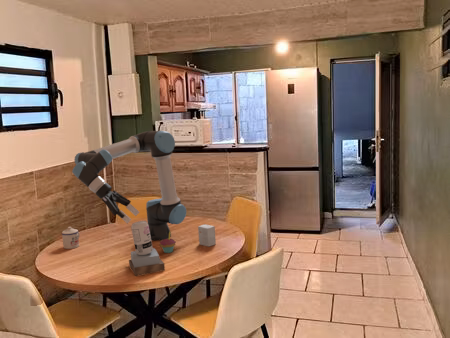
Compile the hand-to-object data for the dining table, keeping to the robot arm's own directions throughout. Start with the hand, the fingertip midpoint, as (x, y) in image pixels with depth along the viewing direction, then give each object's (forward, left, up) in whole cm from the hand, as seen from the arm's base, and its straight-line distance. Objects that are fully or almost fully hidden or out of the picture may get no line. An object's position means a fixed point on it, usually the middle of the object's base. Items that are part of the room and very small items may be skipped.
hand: (133, 217), depth 211 cm
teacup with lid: (+24, -56, -26) cm, 67 cm away
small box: (-44, -16, -26) cm, 53 cm away
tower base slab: (-4, +2, -26) cm, 26 cm away
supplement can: (-4, +2, -18) cm, 18 cm away
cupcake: (-21, -16, -26) cm, 37 cm away
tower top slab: (-3, +2, -22) cm, 22 cm away
